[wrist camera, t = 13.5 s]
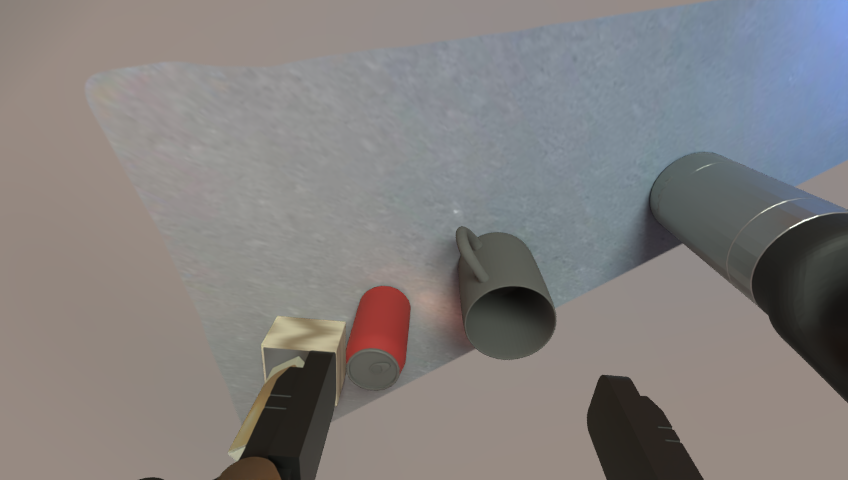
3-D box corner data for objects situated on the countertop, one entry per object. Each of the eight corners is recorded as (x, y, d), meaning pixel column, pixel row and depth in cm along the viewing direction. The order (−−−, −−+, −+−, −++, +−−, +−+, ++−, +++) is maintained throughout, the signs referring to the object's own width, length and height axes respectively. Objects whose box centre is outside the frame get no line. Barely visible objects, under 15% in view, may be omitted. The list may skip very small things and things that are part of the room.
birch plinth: (345, 321, 56) (336, 352, 51) (345, 374, 60) (336, 407, 55) (277, 316, 56) (260, 346, 51) (281, 368, 60) (266, 401, 55)
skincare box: (329, 388, 54) (301, 480, 43) (301, 400, 55) (267, 493, 44) (297, 352, 51) (259, 440, 40) (269, 366, 52) (224, 455, 41)
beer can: (418, 317, 56) (414, 385, 45) (373, 332, 57) (358, 401, 46) (398, 276, 53) (388, 338, 42) (351, 293, 55) (329, 357, 44)
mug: (546, 274, 53) (574, 336, 42) (481, 307, 55) (492, 374, 44) (490, 185, 48) (506, 229, 37) (422, 225, 50) (418, 278, 39)
